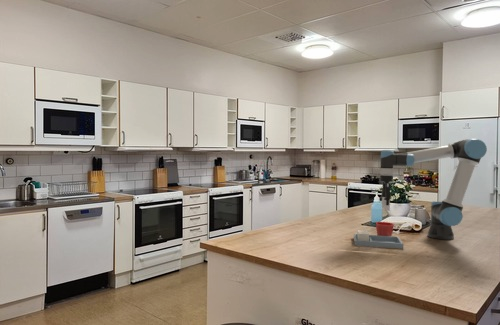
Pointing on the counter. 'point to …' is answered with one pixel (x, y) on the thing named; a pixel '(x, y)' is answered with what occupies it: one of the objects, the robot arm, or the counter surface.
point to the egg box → (362, 235)
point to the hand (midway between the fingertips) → (385, 208)
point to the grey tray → (380, 241)
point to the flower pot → (384, 228)
